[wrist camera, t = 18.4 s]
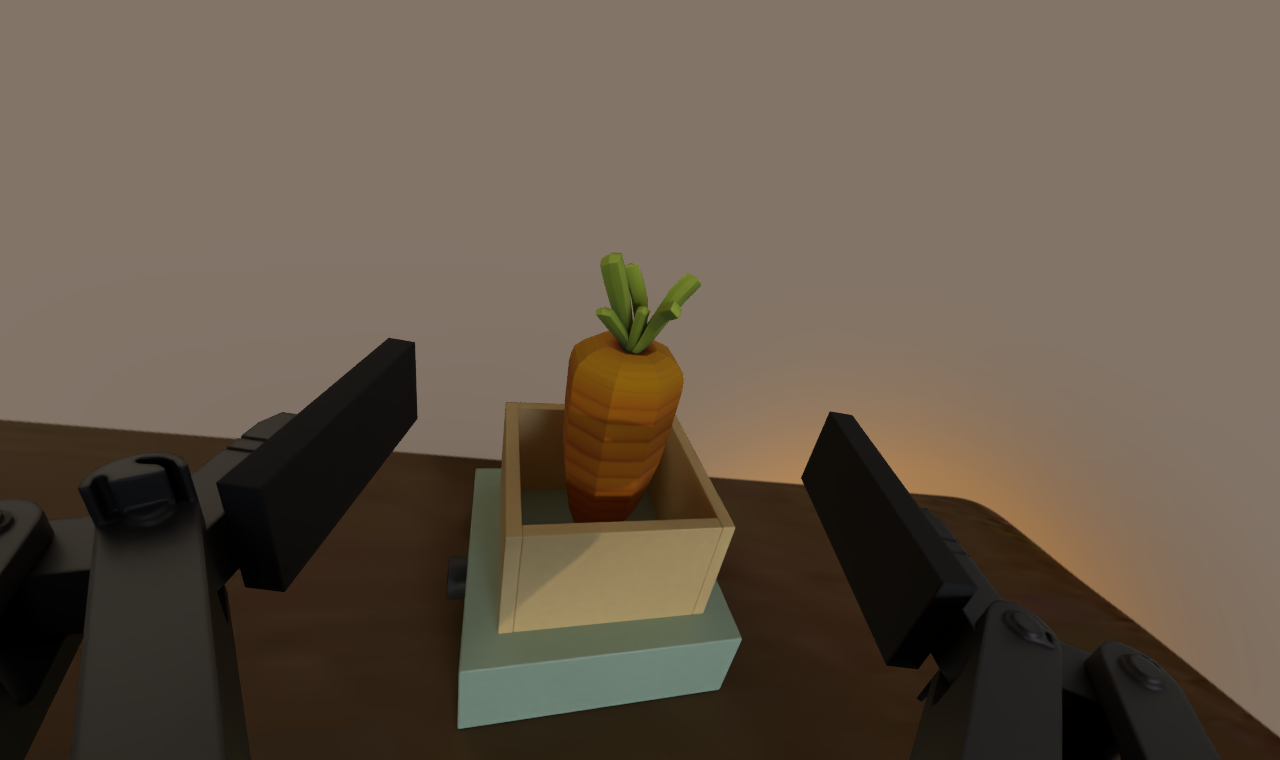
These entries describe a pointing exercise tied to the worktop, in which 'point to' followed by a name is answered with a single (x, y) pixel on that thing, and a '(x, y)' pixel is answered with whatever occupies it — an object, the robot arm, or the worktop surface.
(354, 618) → the worktop surface
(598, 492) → the carrot
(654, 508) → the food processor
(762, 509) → the worktop surface
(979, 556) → the worktop surface
